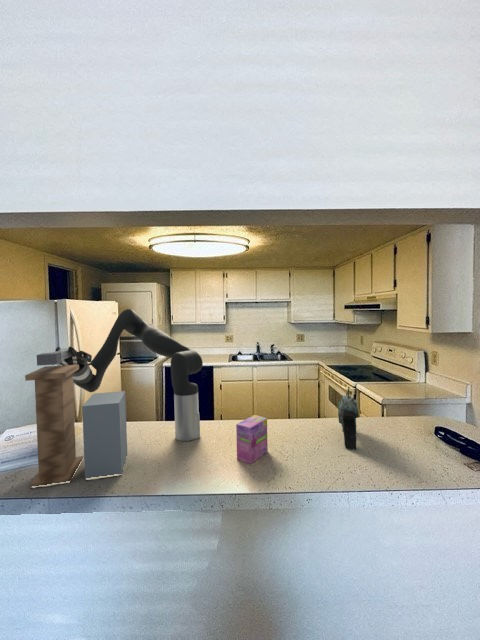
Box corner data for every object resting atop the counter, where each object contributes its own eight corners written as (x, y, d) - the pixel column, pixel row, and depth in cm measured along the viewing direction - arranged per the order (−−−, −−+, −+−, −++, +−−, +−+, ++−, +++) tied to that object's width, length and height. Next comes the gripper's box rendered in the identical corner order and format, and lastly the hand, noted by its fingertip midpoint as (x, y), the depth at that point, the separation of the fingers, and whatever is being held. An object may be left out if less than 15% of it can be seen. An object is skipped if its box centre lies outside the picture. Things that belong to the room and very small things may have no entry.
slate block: (127, 454, 104) (125, 391, 103) (121, 475, 90) (119, 402, 90) (95, 458, 101) (93, 393, 101) (85, 481, 88) (82, 406, 87)
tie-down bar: (61, 355, 105) (60, 347, 105) (76, 354, 106) (76, 346, 106) (37, 365, 85) (36, 355, 85) (56, 364, 87) (56, 353, 86)
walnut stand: (82, 460, 100) (78, 364, 99) (69, 483, 87) (65, 372, 86) (49, 464, 98) (44, 366, 97) (30, 489, 84) (25, 375, 83)
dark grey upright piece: (360, 452, 101) (359, 393, 101) (339, 450, 103) (338, 392, 102) (353, 429, 120) (353, 379, 120) (336, 428, 122) (336, 379, 122)
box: (250, 464, 95) (250, 427, 95) (236, 459, 99) (235, 423, 98) (268, 451, 103) (267, 417, 103) (254, 447, 107) (253, 414, 106)
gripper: (58, 359, 115) (41, 340, 100) (98, 357, 119) (87, 338, 104) (55, 378, 112) (37, 361, 97) (96, 375, 115) (85, 358, 100)
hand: (63, 349), depth 100 cm, fingers closed on tie-down bar, 3 cm apart
